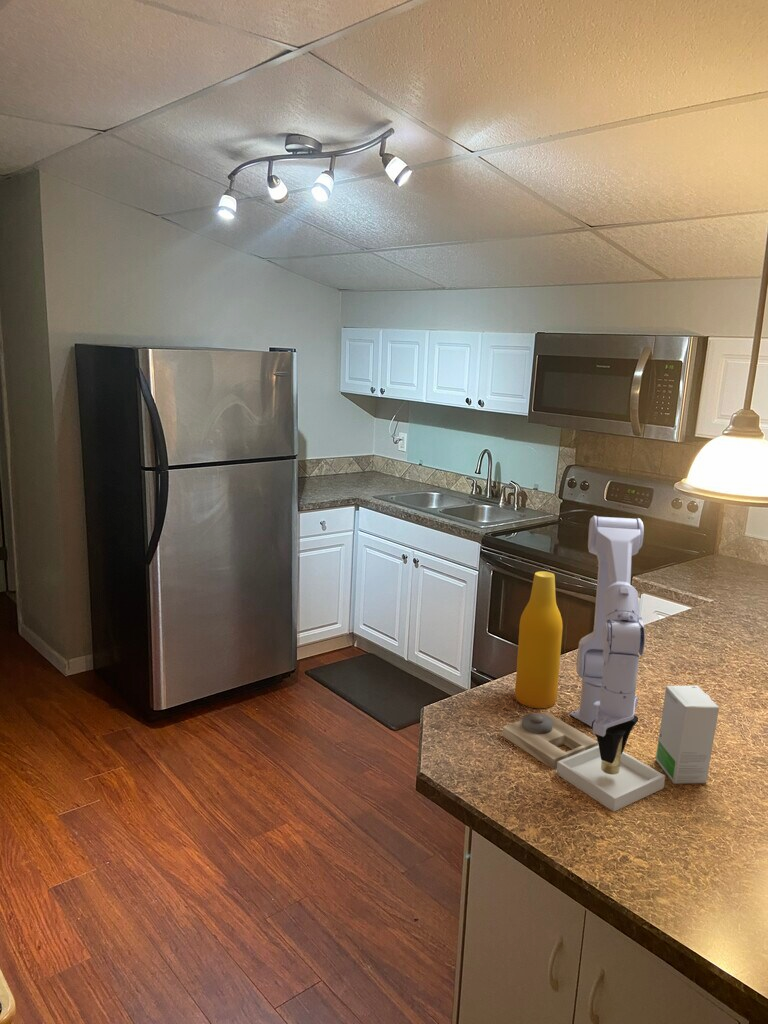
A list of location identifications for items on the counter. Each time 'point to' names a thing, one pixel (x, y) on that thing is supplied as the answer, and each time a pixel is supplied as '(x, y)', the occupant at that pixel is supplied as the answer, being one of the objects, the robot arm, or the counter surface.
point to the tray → (610, 778)
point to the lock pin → (615, 766)
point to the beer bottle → (539, 645)
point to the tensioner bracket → (547, 738)
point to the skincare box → (686, 734)
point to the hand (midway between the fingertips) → (611, 756)
